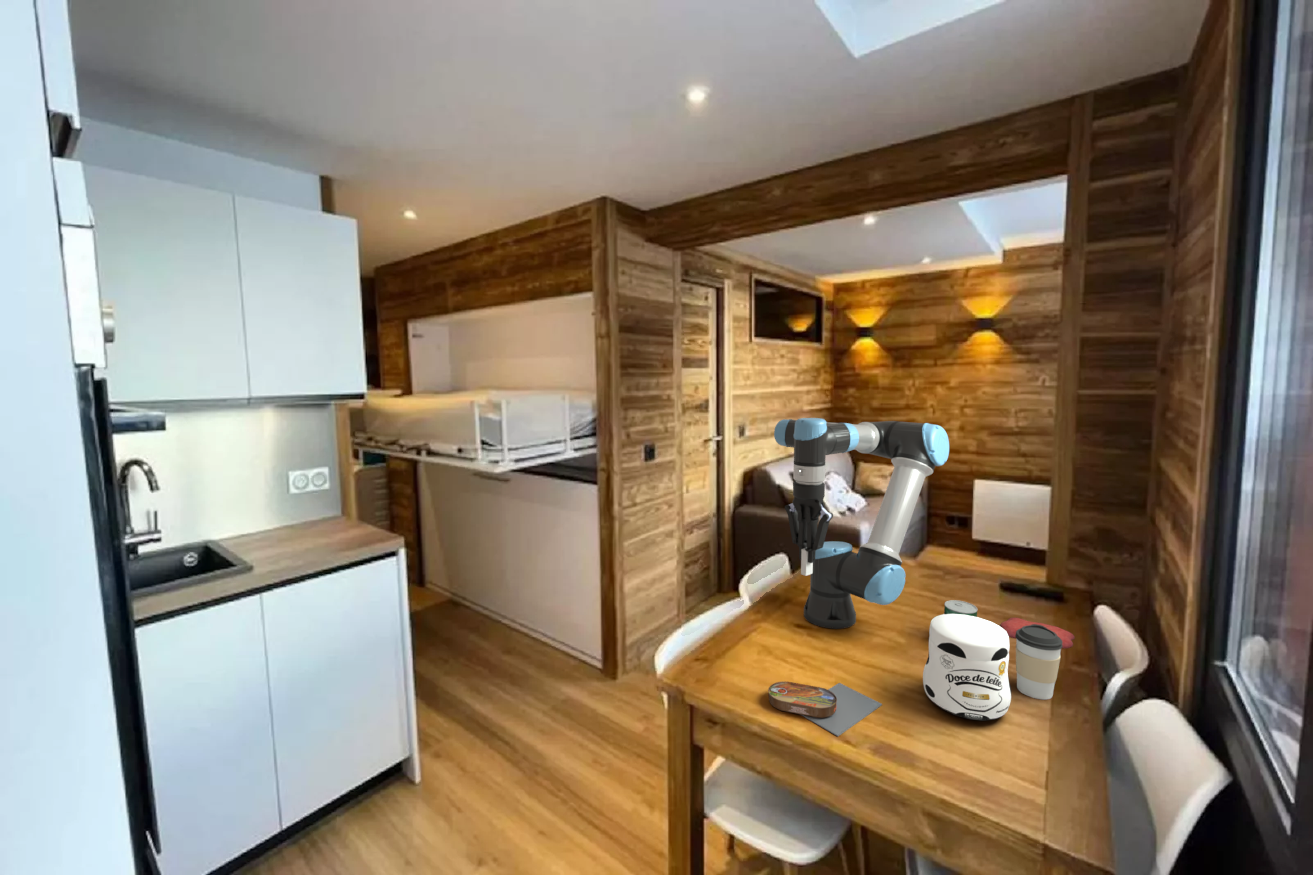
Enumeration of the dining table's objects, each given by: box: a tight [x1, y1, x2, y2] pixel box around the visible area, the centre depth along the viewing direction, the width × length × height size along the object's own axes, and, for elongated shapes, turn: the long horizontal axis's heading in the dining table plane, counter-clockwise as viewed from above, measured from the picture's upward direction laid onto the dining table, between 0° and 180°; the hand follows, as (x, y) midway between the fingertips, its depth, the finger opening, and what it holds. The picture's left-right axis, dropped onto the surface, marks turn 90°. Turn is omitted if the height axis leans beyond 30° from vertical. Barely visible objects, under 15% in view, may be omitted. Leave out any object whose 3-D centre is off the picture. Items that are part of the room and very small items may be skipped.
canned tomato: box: [943, 599, 978, 617], centre depth 152 cm, size 8×8×11 cm
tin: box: [767, 681, 837, 718], centre depth 126 cm, size 15×3×8 cm
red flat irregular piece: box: [999, 617, 1075, 649], centre depth 158 cm, size 18×14×2 cm
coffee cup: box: [1015, 624, 1063, 700], centre depth 130 cm, size 9×9×15 cm
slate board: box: [799, 682, 883, 737], centre depth 125 cm, size 11×17×1 cm, turn 128°
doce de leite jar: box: [922, 613, 1012, 722], centre depth 125 cm, size 17×17×18 cm
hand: (806, 573), depth 140 cm, fingers closed
